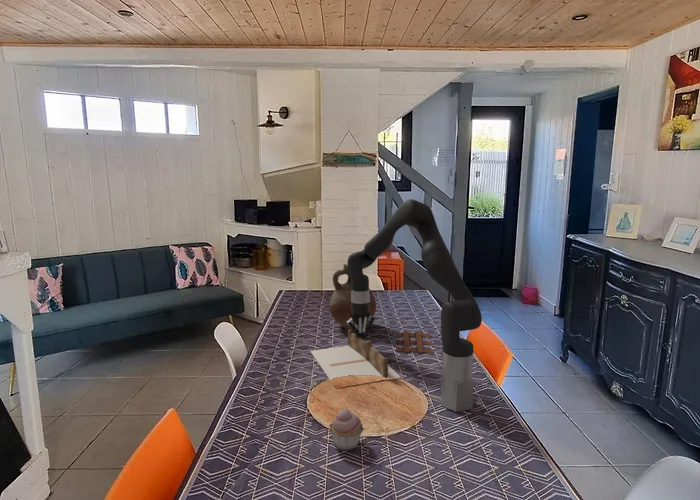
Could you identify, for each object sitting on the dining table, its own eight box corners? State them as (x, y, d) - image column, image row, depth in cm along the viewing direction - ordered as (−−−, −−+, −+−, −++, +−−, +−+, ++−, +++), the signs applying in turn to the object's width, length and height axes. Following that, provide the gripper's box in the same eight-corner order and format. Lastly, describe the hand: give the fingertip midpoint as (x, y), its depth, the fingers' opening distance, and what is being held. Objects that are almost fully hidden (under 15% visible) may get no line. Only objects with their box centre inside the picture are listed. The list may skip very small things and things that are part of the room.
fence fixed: (389, 377, 158) (389, 357, 157) (383, 378, 157) (383, 358, 156) (370, 358, 174) (370, 340, 173) (364, 359, 174) (364, 340, 172)
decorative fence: (396, 354, 180) (434, 356, 179) (396, 350, 180) (434, 351, 178) (396, 334, 203) (429, 335, 201) (396, 330, 202) (430, 331, 201)
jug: (383, 331, 204) (384, 267, 199) (339, 338, 196) (338, 271, 191) (364, 317, 223) (364, 258, 218) (323, 323, 216) (322, 261, 211)
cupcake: (371, 442, 120) (371, 408, 118) (347, 459, 113) (347, 422, 112) (345, 429, 126) (345, 396, 125) (321, 444, 119) (321, 409, 118)
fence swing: (368, 356, 175) (368, 341, 174) (364, 357, 174) (364, 341, 173) (351, 343, 188) (351, 329, 187) (347, 344, 187) (347, 330, 186)
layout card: (401, 377, 158) (401, 377, 158) (336, 388, 150) (336, 388, 150) (365, 343, 189) (365, 343, 189) (310, 351, 181) (310, 350, 181)
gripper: (350, 305, 175) (350, 347, 178) (379, 300, 181) (379, 340, 184) (341, 300, 181) (342, 340, 185) (369, 295, 188) (369, 334, 191)
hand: (360, 340), depth 184 cm, fingers closed
